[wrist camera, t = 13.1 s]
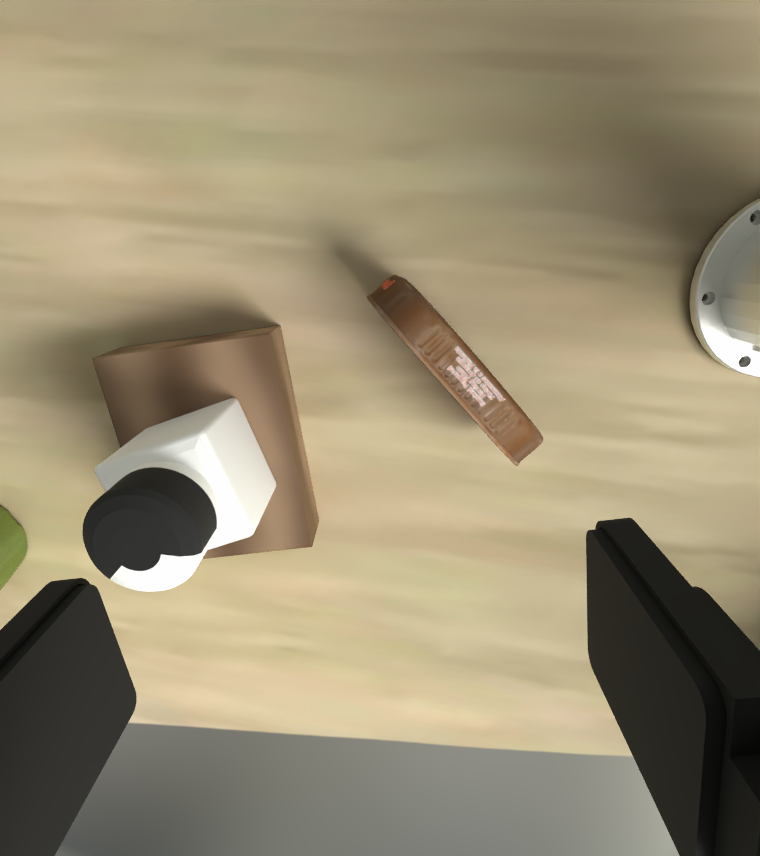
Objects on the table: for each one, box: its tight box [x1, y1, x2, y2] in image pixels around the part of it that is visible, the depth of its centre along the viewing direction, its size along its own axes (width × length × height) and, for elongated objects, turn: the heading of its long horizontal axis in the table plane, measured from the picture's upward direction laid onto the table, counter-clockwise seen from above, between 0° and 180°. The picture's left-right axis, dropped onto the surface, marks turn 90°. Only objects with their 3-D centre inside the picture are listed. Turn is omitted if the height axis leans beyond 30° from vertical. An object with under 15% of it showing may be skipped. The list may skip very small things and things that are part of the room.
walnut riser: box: [92, 326, 319, 559], centre depth 40 cm, size 12×16×4 cm
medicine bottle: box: [83, 398, 276, 592], centre depth 32 cm, size 7×7×12 cm
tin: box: [367, 275, 543, 466], centre depth 35 cm, size 15×3×8 cm, turn 42°
